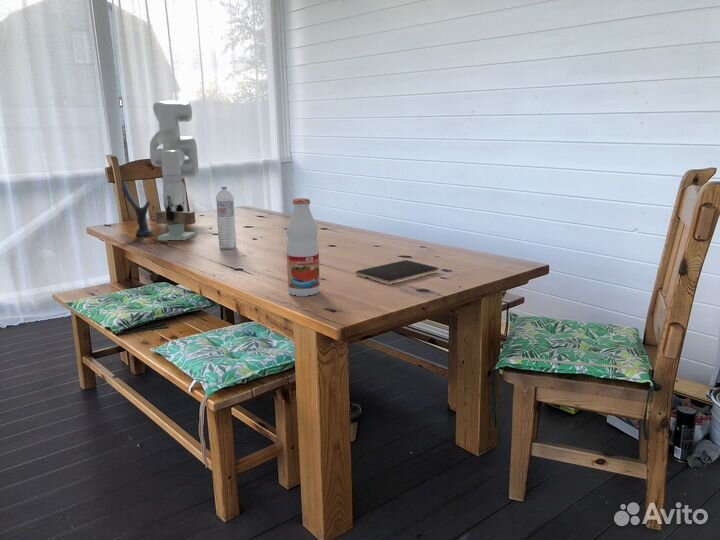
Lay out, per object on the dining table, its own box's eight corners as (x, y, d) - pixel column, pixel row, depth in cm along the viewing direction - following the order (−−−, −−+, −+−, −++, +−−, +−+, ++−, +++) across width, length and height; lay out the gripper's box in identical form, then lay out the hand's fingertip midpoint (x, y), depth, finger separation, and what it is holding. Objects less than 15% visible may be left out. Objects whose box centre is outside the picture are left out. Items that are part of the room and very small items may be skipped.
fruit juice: (313, 286, 180) (311, 196, 173) (324, 294, 172) (322, 200, 165) (284, 290, 176) (280, 198, 169) (293, 298, 168) (290, 202, 161)
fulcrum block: (170, 234, 263) (169, 220, 261) (195, 235, 261) (194, 221, 259) (157, 240, 251) (156, 225, 249) (184, 240, 249) (183, 225, 248)
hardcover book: (438, 274, 196) (438, 267, 195) (388, 287, 181) (389, 280, 181) (404, 265, 208) (404, 259, 207) (355, 277, 193) (355, 270, 192)
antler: (151, 233, 266) (146, 178, 260) (156, 236, 260) (151, 180, 254) (125, 236, 260) (119, 180, 254) (129, 239, 254) (123, 181, 247)
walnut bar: (156, 223, 254) (155, 212, 252) (161, 222, 257) (160, 210, 256) (191, 224, 251) (190, 212, 250) (195, 222, 255) (194, 211, 254)
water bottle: (215, 248, 235) (211, 186, 228) (230, 245, 239) (226, 184, 233) (225, 250, 230) (221, 187, 224) (239, 248, 235) (236, 186, 229)
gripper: (173, 177, 258) (176, 215, 263) (154, 181, 242) (158, 221, 246) (189, 177, 257) (191, 215, 262) (171, 181, 241) (174, 222, 245)
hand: (175, 218), depth 254 cm, fingers open, 9 cm apart
